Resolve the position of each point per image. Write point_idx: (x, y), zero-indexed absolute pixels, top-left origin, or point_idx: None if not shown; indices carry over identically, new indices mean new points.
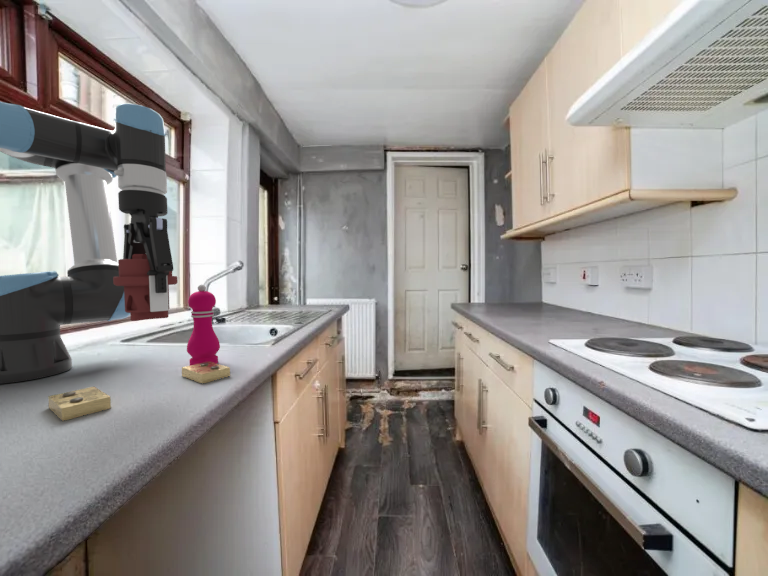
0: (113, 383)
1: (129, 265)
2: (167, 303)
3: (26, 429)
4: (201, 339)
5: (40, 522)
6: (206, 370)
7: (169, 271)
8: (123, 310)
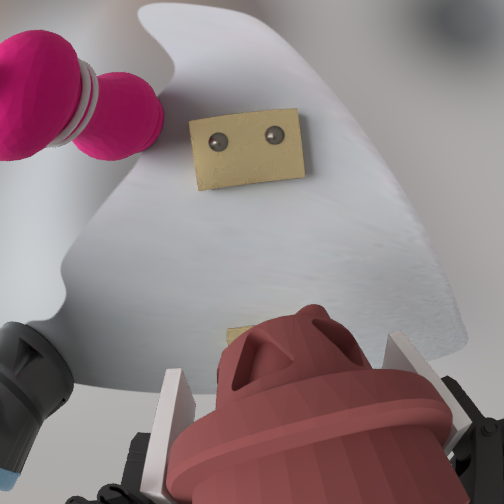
0: (155, 298)
1: None
2: (412, 347)
3: None
4: (134, 124)
5: (461, 342)
6: (280, 157)
7: (440, 448)
8: None
